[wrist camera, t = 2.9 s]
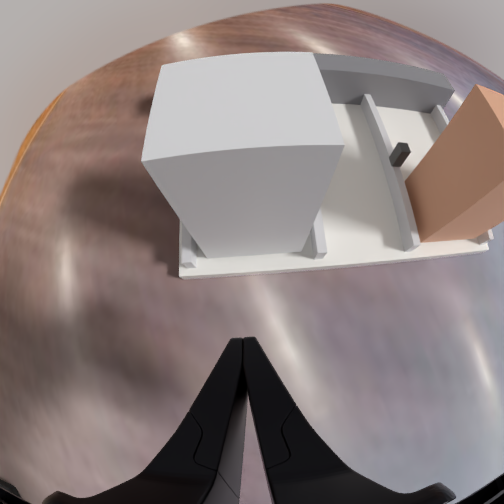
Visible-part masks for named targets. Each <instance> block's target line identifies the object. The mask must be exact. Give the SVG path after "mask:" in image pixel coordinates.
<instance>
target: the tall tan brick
mask: <svg viewBox="0 0 504 504" xmlns="http://www.w3.org/2000/svg"><path fill="white" fill-rule="evenodd" d="M404 182H405V186H406V189H407V192H408V196H409V199H410V203H411V206H412V210H413V214H414V218H415V222H416V226H417V230H418V234H419V239H420V243H425V242H438V241H450V240H463V239H474V238H476V237H478V236H480V235H481V234H483V233H485V232H486V231H488V230H490V229H491V228H493V227H495V226H496V225H498V224H500V223H501V222H503V221H504V95H502V94H500V93H498V92H495V91H493V90H491V89H488V88H485V87H483V86H480V85H478V84H475V86H474V87H473V89H472V90H471V92H470V93H469V95H468V96H467V98H466V99H465V101H464V102H463V104H462V105H461V107H460V108H459V110H458V111H457V112H456V114H455V115H454V117H453V118H452V120H451V121H450V122H449V124H448V125H447V127H446V128H445V129H444V131H443V132H442V133H441V135H440V136H439V137H438V139H437V140H436V142H435V143H434V144H433V146H432V147H431V148H430V150H429V151H428V152H427V153H426V155H425V156H424V157H423V159H422V160H421V161H420V163H419V164H418V165H417V166H416V168H415V169H414V170H413V171H412V173H411V174H410V175H409V176H408V178H407V179H406V180H405V181H404Z"/></svg>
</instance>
